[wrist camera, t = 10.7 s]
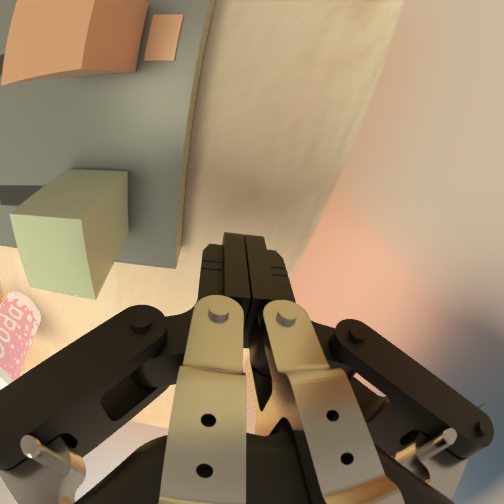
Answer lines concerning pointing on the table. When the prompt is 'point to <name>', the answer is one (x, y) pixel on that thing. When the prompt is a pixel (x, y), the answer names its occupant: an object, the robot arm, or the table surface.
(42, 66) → the slider
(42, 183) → the console
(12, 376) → the beverage cup
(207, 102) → the table surface
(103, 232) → the slider
